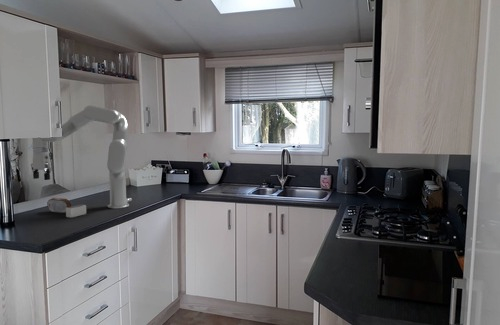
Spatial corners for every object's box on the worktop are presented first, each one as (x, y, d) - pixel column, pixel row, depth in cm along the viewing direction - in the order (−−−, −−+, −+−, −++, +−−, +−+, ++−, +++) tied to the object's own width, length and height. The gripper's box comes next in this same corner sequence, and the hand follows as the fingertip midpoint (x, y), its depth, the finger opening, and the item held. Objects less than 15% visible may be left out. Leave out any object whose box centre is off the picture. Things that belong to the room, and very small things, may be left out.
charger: (81, 212, 212) (81, 203, 211) (86, 213, 210) (85, 204, 209) (66, 216, 203) (65, 207, 202) (71, 217, 201) (70, 208, 200)
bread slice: (71, 212, 212) (71, 198, 211) (67, 214, 209) (67, 199, 208) (50, 211, 216) (50, 197, 215) (46, 212, 213) (45, 198, 212)
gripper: (56, 150, 214) (57, 179, 216) (36, 149, 221) (38, 177, 223) (44, 151, 207) (45, 181, 209) (24, 150, 214) (26, 178, 216)
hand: (41, 179), depth 216 cm, fingers open, 9 cm apart
